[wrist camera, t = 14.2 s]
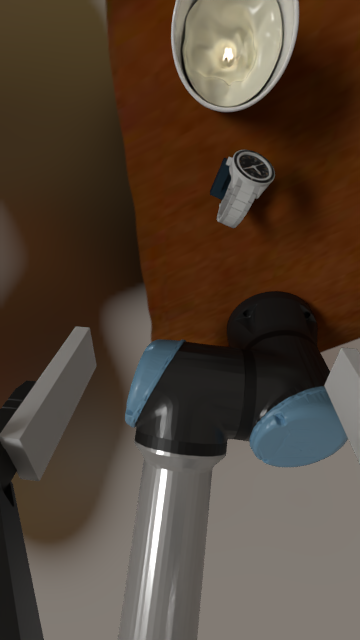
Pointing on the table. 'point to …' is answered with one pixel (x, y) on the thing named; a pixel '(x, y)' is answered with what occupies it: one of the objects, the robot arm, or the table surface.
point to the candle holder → (232, 48)
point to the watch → (240, 184)
